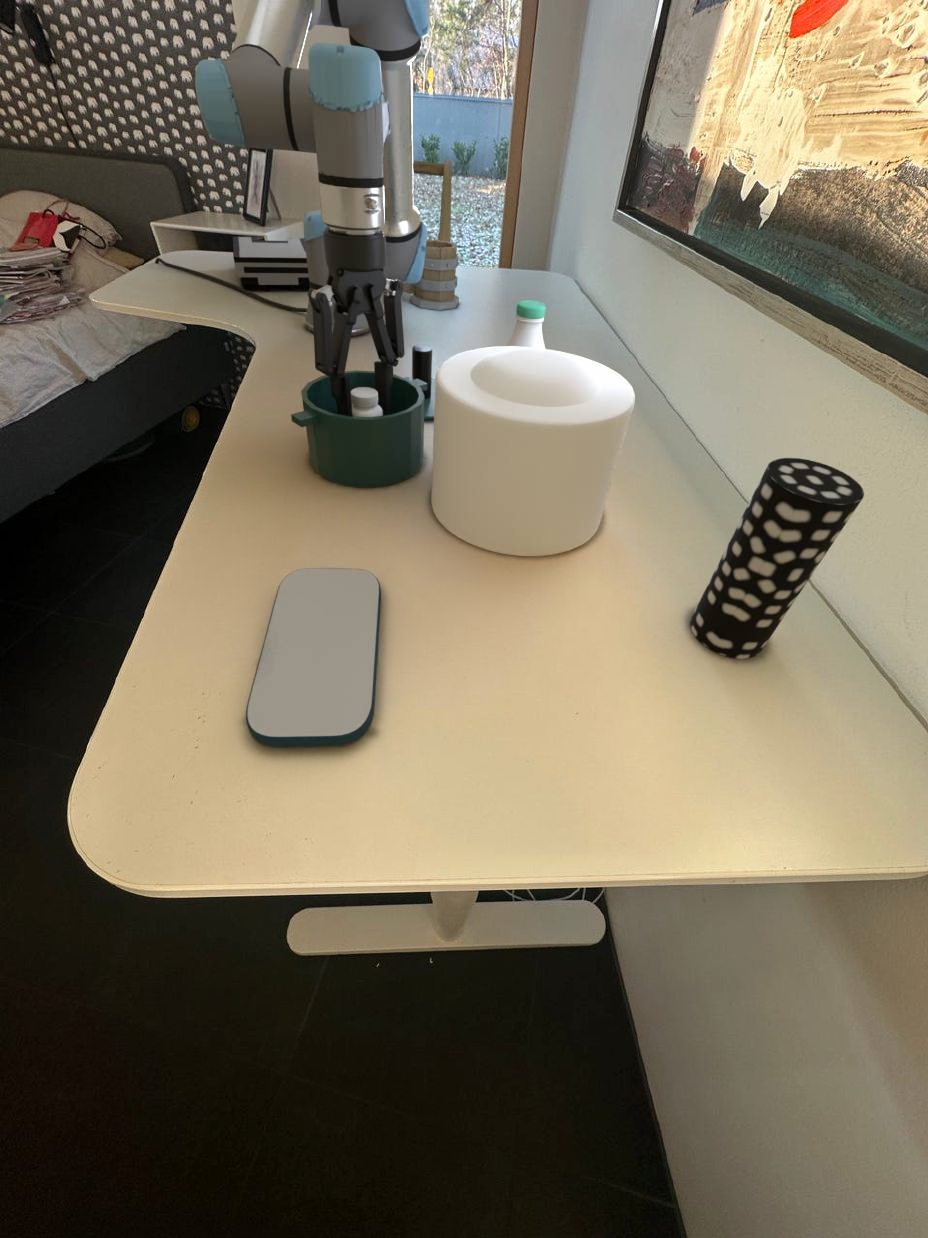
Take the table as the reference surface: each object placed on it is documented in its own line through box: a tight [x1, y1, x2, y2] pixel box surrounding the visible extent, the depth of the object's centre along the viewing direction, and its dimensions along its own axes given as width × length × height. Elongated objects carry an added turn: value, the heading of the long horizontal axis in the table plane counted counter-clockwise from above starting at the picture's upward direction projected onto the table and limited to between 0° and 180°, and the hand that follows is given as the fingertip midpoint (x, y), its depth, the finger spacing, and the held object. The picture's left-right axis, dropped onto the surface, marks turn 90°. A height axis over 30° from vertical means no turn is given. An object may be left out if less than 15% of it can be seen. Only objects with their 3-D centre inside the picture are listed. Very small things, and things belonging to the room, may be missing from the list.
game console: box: [232, 236, 310, 291], centre depth 158 cm, size 21×32×8 cm, turn 17°
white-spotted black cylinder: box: [689, 457, 865, 660], centre depth 57 cm, size 8×8×20 cm
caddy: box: [405, 158, 453, 285], centre depth 160 cm, size 29×11×30 cm, turn 77°
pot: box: [290, 370, 427, 489], centre depth 84 cm, size 18×23×10 cm
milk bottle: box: [505, 299, 547, 349], centre depth 93 cm, size 8×8×20 cm
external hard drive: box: [245, 567, 382, 748], centre depth 57 cm, size 24×12×2 cm, turn 4°
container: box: [430, 345, 636, 557], centre depth 74 cm, size 25×25×20 cm
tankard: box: [402, 239, 460, 311], centre depth 148 cm, size 20×13×15 cm, turn 80°
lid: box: [403, 344, 436, 420], centre depth 102 cm, size 19×19×10 cm
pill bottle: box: [351, 387, 383, 417], centre depth 83 cm, size 5×5×9 cm
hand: (364, 413), depth 82 cm, fingers open, 6 cm apart
